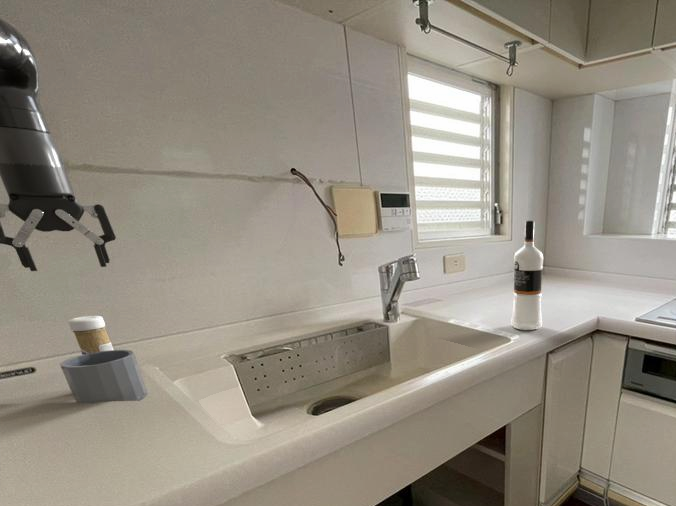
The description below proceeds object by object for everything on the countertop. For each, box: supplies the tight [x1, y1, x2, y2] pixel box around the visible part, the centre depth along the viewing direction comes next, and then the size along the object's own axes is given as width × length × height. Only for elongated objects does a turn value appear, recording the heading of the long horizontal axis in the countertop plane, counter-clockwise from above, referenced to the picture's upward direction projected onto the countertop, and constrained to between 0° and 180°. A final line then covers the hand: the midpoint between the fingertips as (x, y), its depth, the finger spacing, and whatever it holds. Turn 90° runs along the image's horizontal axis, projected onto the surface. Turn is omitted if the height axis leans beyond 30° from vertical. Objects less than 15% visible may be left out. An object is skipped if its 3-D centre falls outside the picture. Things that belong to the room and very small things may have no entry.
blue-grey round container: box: [59, 349, 148, 404], centre depth 70 cm, size 9×9×8 cm
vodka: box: [510, 220, 544, 331], centre depth 116 cm, size 9×9×30 cm
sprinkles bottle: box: [67, 315, 115, 355], centre depth 76 cm, size 5×5×13 cm
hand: (70, 268), depth 70 cm, fingers open, 8 cm apart
